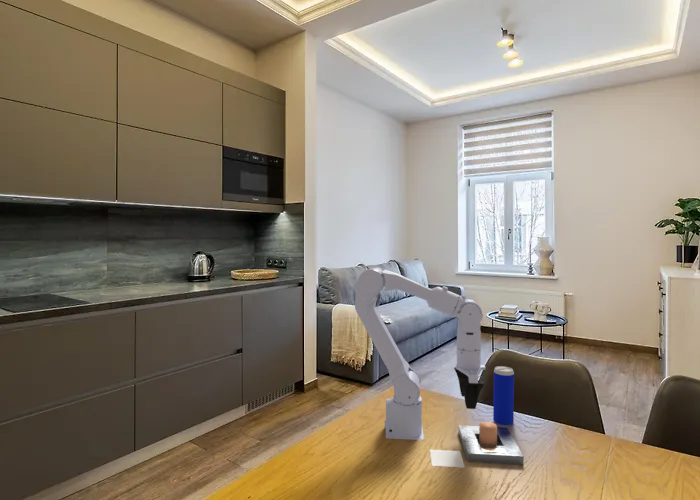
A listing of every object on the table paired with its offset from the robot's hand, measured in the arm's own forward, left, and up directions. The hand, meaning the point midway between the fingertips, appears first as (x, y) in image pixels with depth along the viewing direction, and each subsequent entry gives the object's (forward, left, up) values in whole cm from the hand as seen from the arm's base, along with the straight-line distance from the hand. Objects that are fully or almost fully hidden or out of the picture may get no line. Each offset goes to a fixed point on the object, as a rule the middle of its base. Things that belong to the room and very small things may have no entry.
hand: (468, 401), depth 105 cm
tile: (-6, -11, -9) cm, 16 cm away
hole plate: (+4, -5, -9) cm, 11 cm away
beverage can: (+11, +10, -10) cm, 18 cm away
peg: (+4, -5, -9) cm, 11 cm away
